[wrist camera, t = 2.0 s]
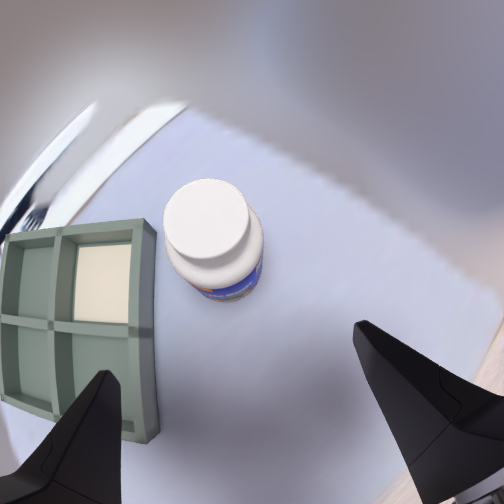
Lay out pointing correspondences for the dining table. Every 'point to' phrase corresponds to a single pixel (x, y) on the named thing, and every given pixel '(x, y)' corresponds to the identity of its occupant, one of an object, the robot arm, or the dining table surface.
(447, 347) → the dining table surface
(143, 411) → the divided tray
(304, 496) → the dining table surface
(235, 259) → the pill bottle
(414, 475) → the robot arm
